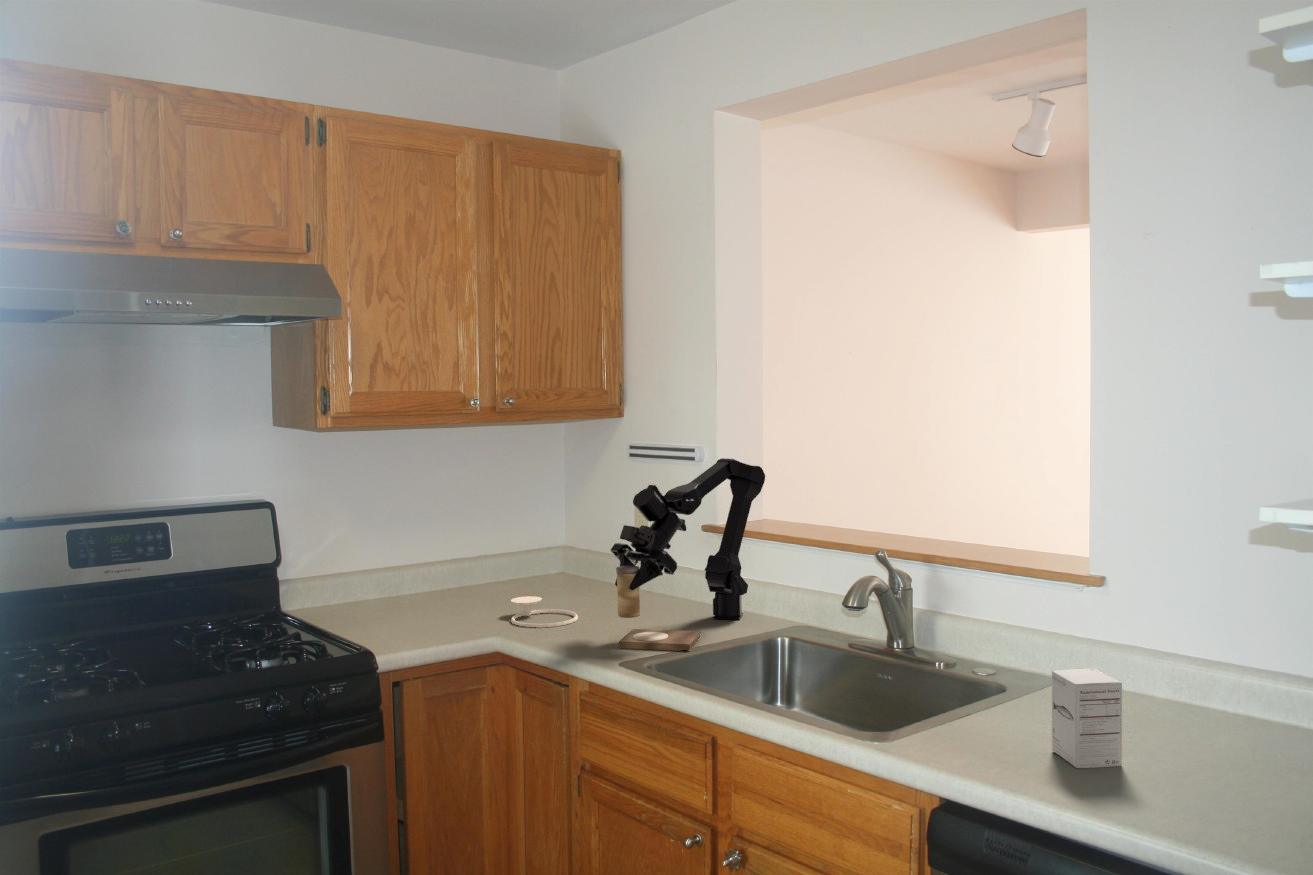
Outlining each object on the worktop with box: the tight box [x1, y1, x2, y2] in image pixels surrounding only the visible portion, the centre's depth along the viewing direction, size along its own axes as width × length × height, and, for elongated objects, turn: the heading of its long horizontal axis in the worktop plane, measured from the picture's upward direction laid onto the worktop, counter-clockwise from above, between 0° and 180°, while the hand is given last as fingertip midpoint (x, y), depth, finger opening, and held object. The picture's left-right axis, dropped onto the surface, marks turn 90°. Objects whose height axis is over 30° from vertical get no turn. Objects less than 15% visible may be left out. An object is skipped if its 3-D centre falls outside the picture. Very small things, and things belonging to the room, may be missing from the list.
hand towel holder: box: [510, 595, 579, 629], centre depth 247 cm, size 17×4×21 cm
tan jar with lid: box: [615, 565, 641, 619], centre depth 223 cm, size 5×5×11 cm
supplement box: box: [1051, 668, 1123, 769], centre depth 146 cm, size 7×7×13 cm
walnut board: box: [618, 628, 701, 651], centre depth 221 cm, size 16×12×2 cm
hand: (623, 587), depth 222 cm, fingers closed on tan jar with lid, 5 cm apart
